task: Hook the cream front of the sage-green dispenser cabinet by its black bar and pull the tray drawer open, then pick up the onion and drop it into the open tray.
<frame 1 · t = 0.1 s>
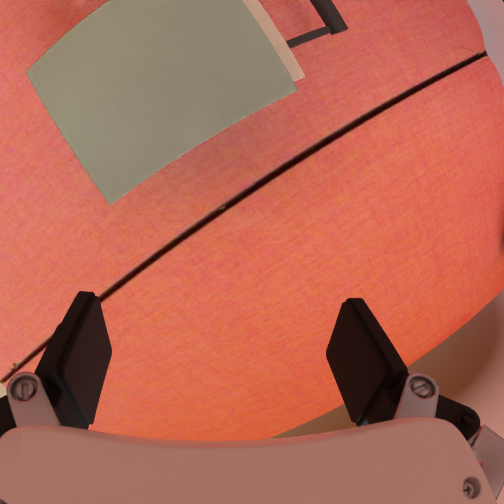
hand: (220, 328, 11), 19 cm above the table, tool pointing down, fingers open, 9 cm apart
cabinet: (167, 78, 22), on the table
drawer: (212, 42, 18), point 4 cm above the table, slide at 0.0 cm
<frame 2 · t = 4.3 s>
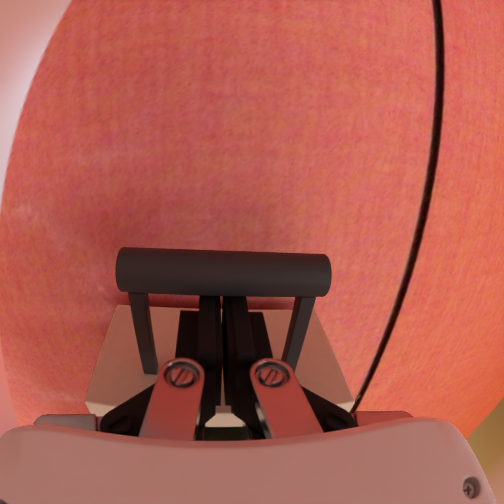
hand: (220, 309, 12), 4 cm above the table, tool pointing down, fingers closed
drawer: (217, 398, 15), point 4 cm above the table, slide at 1.1 cm, touching gripper
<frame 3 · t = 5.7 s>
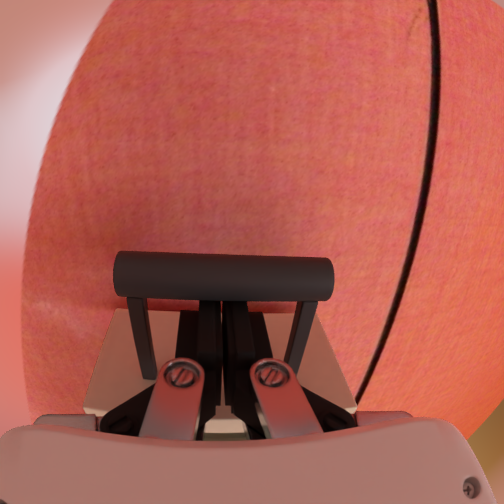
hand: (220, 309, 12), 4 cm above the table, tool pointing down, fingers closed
drawer: (217, 403, 15), point 4 cm above the table, slide at 7.5 cm, touching gripper
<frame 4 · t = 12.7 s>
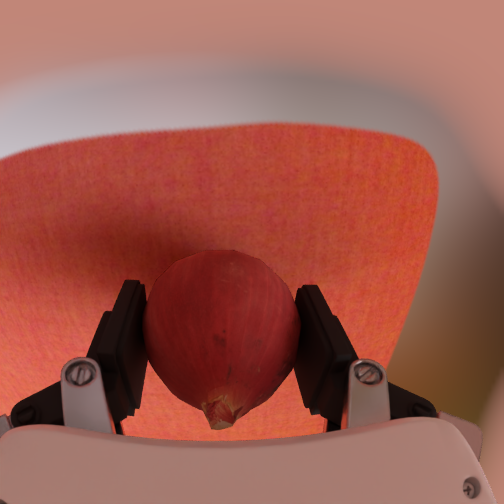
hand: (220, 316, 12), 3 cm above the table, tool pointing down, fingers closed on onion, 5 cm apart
onion: (218, 274, 14), on the table, touching gripper
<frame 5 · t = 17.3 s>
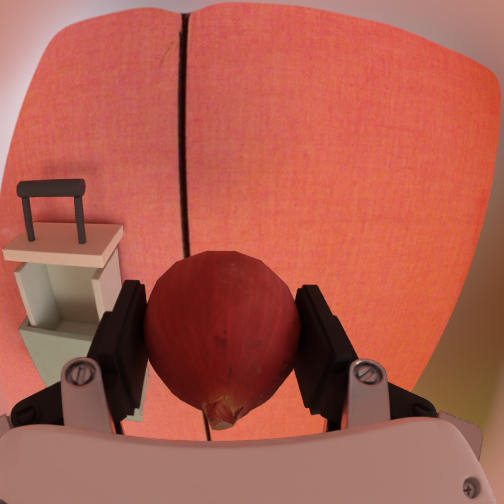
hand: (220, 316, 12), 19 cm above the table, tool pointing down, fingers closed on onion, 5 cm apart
cabinet: (99, 334, 35), on the table
onion: (219, 274, 14), point 16 cm above the table, touching gripper
drawer: (67, 270, 26), point 4 cm above the table, slide at 7.9 cm
when the fingers open (10 cm above the table, at t = 21.7 s): onion drops 4 cm, resting on drawer.
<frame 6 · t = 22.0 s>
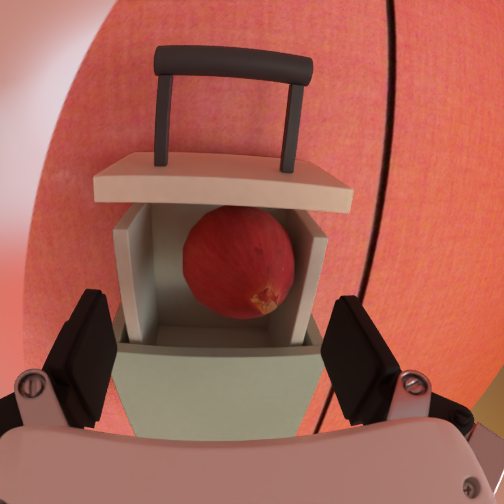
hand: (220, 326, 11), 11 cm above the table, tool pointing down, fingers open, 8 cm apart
cabinet: (212, 343, 26), on the table
onion: (217, 232, 19), point 2 cm above the table, touching drawer
drawer: (218, 231, 17), point 4 cm above the table, slide at 7.9 cm, touching onion
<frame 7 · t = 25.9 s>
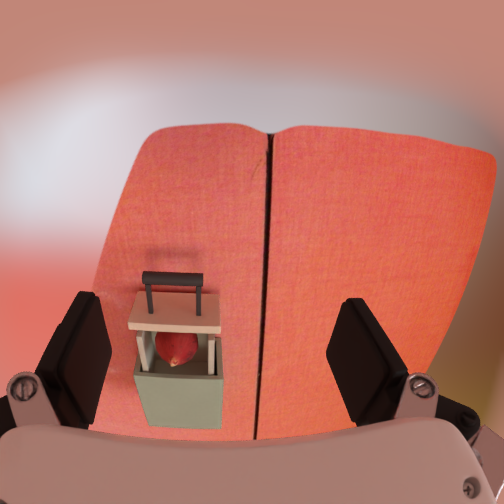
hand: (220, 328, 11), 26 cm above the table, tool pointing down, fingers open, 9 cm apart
cabinet: (183, 366, 48), on the table
onion: (178, 323, 41), point 2 cm above the table, touching drawer
drawer: (177, 329, 39), point 4 cm above the table, slide at 7.9 cm, touching onion
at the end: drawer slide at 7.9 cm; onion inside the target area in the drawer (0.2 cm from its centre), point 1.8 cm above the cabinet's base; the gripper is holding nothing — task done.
